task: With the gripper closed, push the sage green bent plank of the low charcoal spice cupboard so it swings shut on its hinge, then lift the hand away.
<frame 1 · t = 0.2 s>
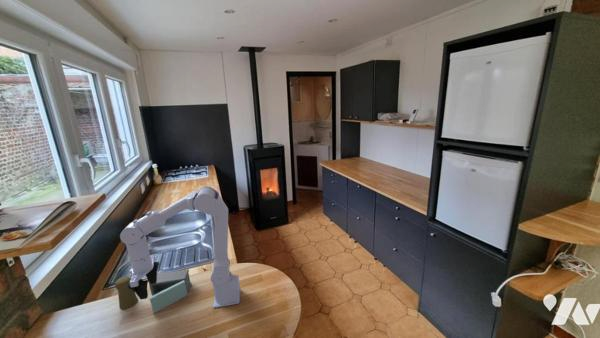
hand: (148, 290, 87), 10 cm above the counter, fingers open, 7 cm apart
sage green bent plank: (169, 296, 93), point 4 cm above the counter, hinge at 35.0°
cupboard: (172, 291, 100), on the counter
cork: (129, 304, 95), on the counter
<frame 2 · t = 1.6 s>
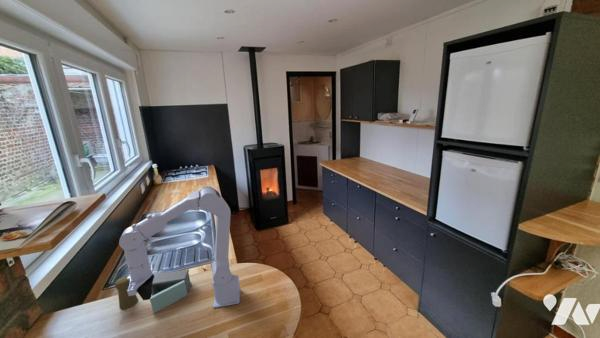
hand: (147, 298, 83), 10 cm above the counter, fingers closed
nothing on the counter moved.
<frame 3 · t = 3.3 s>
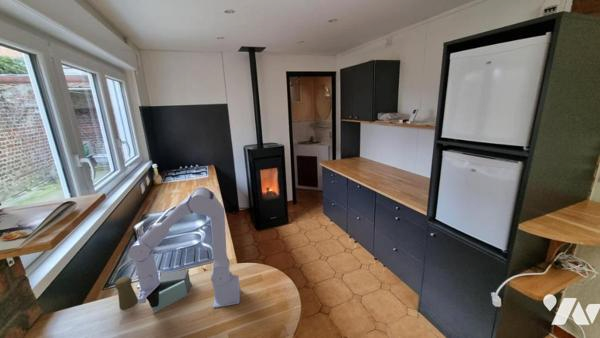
hand: (155, 305, 88), 4 cm above the counter, fingers closed, pressing on sage green bent plank
sage green bent plank: (169, 296, 93), point 4 cm above the counter, hinge at 34.0°, touching gripper
everything else where it was.
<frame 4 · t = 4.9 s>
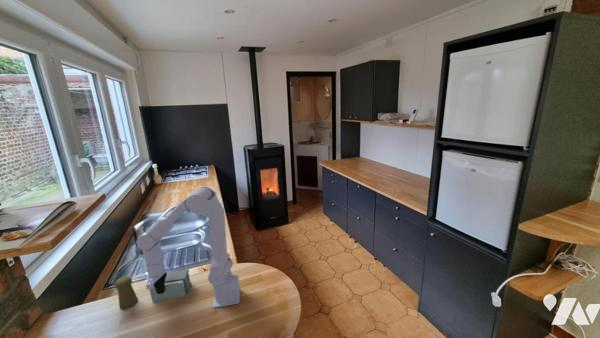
hand: (161, 292, 94), 4 cm above the counter, fingers closed, pressing on sage green bent plank
sage green bent plank: (167, 290, 96), point 3 cm above the counter, hinge at -0.6°, touching gripper
everything else where it was.
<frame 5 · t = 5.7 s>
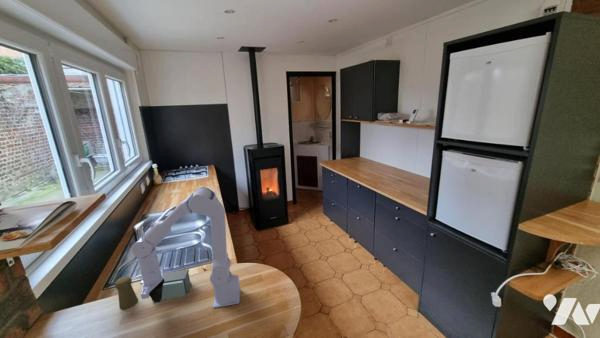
hand: (158, 301, 90), 4 cm above the counter, fingers closed
sage green bent plank: (167, 290, 96), point 4 cm above the counter, hinge at -0.7°
everything else where it was.
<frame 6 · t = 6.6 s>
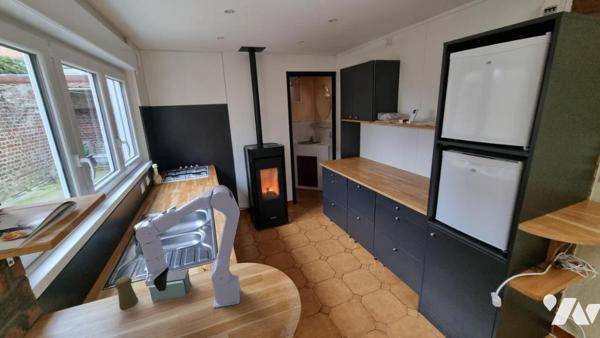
hand: (162, 289, 87), 10 cm above the counter, fingers closed
nothing on the counter moved.
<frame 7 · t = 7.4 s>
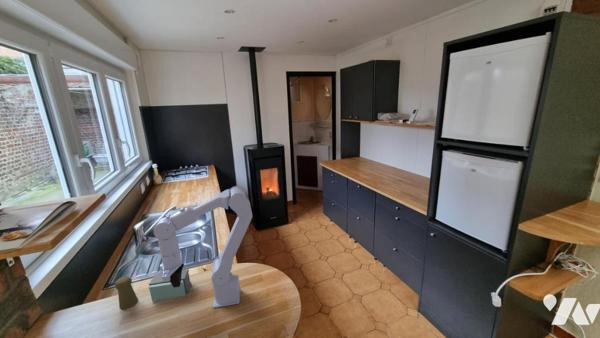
hand: (177, 285, 88), 10 cm above the counter, fingers closed
nothing on the counter moved.
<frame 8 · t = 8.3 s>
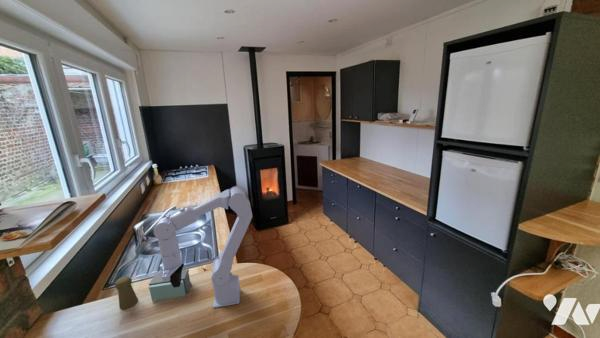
hand: (177, 285, 88), 10 cm above the counter, fingers closed
nothing on the counter moved.
at the end: sage green bent plank at -1° (first picture: +35°); cork moved 0.2 cm from its start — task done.
